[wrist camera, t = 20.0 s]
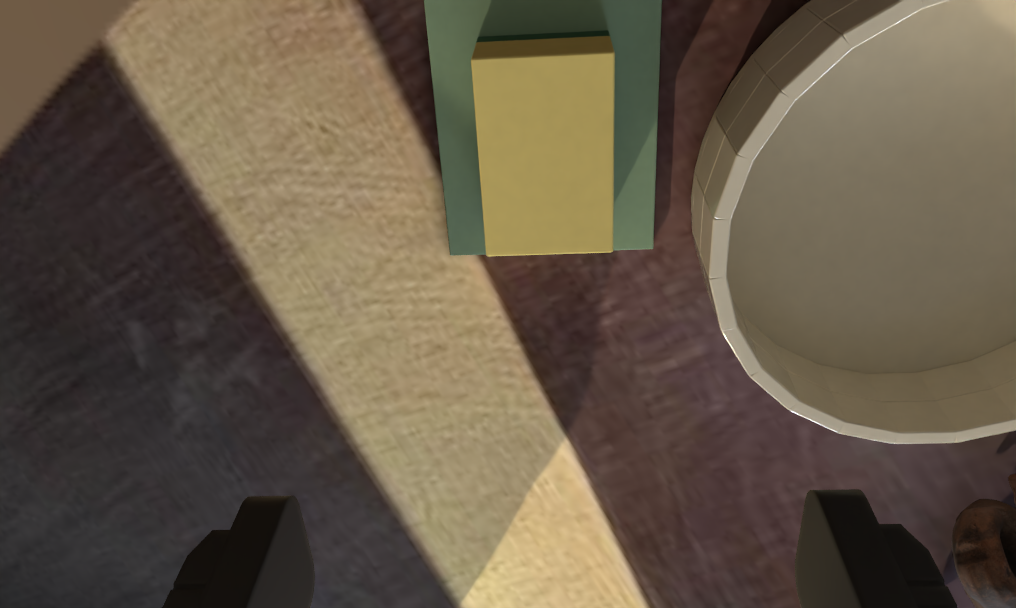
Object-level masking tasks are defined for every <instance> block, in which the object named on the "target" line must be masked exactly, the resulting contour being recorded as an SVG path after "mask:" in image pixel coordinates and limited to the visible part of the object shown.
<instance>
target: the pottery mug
mask: <svg viewBox="0 0 1016 608" xmlns="http://www.w3.org/2000/svg"><path fill="white" fill-rule="evenodd" d="M1008 481H1009V484H1010V486H1011V488H1012V490H1013V492H1014V501H1015V505H1016V474H1012V475H1010V476H1009V477H1008ZM952 551H953V557H954V562H955V567H956V571H957V574H958V577H959V579H960V582H961V583H962V585H963V587H964V589H965V592H966V594H967V595H968V597H969V598H970V599H971V601H972V603H973V604H974V606H975V607H976V608H1016V509H1015V508H1013V507H1011V506H1010V505H1008V504H1006V503H1003V502H1001V501H997V500H990V499H979V500H977V501H975V502H973V503H972V504H971V505H969V506H968V507H967V508H966V509H965V510H963V511H962V512H961V513H960V515H959V516H958V517H957V519H956V524H955V526H954V529H953V535H952Z"/></svg>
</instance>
